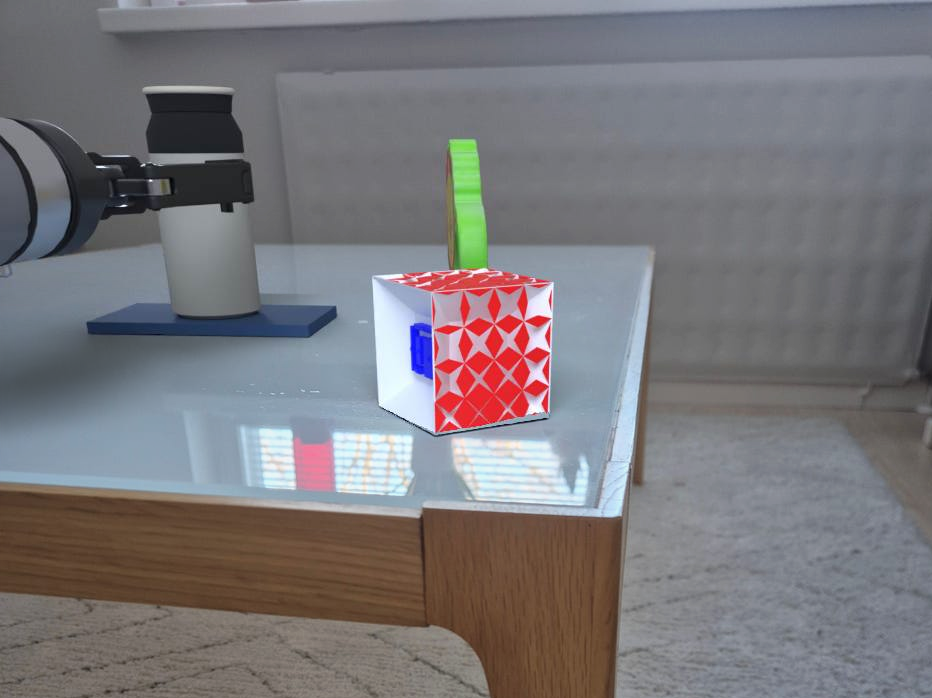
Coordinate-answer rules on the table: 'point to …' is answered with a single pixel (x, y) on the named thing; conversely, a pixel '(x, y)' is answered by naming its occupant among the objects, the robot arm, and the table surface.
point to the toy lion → (464, 207)
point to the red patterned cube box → (463, 346)
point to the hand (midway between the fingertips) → (155, 178)
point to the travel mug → (202, 206)
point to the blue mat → (215, 321)
